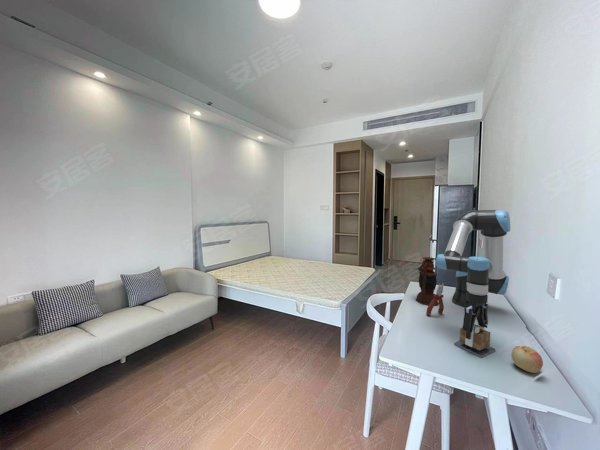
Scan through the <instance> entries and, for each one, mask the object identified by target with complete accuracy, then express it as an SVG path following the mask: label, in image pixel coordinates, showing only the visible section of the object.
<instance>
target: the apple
mask: <svg viewBox="0 0 600 450" xmlns="http://www.w3.org/2000/svg"><path fill="white" fill-rule="evenodd" d="M510 356H511V360H512V361H513V364H515V366H517V367H519V368H520V369H521V370H524V371H525V372H527V373H531V374H536V373H538V372H540V371H541V370H542V368H543V366H544V361H543V358H542V356H541V354H539V353H538V352H537V350H535V349H534V348H532V347H530V346H527V345H518V346H514V347H513V348H512V350H511V355H510Z"/></svg>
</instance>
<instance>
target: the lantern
mask: <svg viewBox="0 0 600 450" xmlns="http://www.w3.org/2000/svg"><path fill="white" fill-rule="evenodd" d="M422 259H423V261H422V262H421V265H420V267H418V268H417V270H418V274H419V277H418V286H419V288H420V292H418V294H417V295H416V298H415V301H416V302H417V303H418V304H421V305H424V306H427V307H428V306H429V304H430V303H431V301H432V300H433V298H434V295H435V294H436V293H434V292H435V290H436V289H437V288H436V287H437V275H438V274H437V273H436V271H434V270H436V268H435V258H434V257H431V256H424V257H422ZM437 306H438V307H439V301H437V302H436V304H435V305H434V307H437Z"/></svg>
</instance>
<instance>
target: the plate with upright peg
mask: <svg viewBox="0 0 600 450" xmlns="http://www.w3.org/2000/svg"><path fill="white" fill-rule="evenodd" d="M479 330H480V327H479V325H478V324H474V327H473V331H472V332H474V333H476V334H479ZM453 346H456V347H458V348H460V349H461V350H463V351H466V352H468V353H470V354H471V355H475V356H476V357H479V358H480V359H483V358H484V357H487V356H489V355H490V354H493V353H494V352H496V348H494V347H492V346H488V347H486V348H484V349H482V350H480V351H479V350H477V349H475V348H473V347H470V346H468V345H466V344H464V343H462V342H460V340H457V341H455V342H454V344H453Z"/></svg>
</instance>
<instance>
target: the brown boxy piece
mask: <svg viewBox="0 0 600 450" xmlns="http://www.w3.org/2000/svg"><path fill="white" fill-rule="evenodd" d="M462 328H463V327H460V328H459V329H460V330H459V341H460V342H462V343H464V344H465V337H466V331H465V330H463V329H462ZM490 345H491V332H490V331H487V330H485V329H484V330H483V329H480V330H479V334H476V333H473V348H475V349H477V350H479V351H480V350H482V349H484V348H486V347H488V346H490ZM490 347H491V346H490Z"/></svg>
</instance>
